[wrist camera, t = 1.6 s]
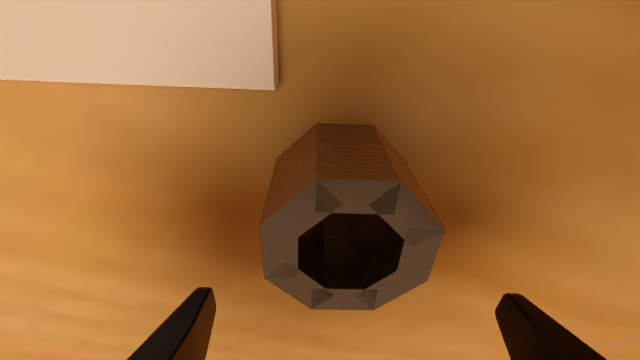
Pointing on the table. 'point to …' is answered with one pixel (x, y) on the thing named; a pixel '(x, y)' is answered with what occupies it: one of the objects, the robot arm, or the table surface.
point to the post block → (141, 42)
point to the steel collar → (346, 221)
